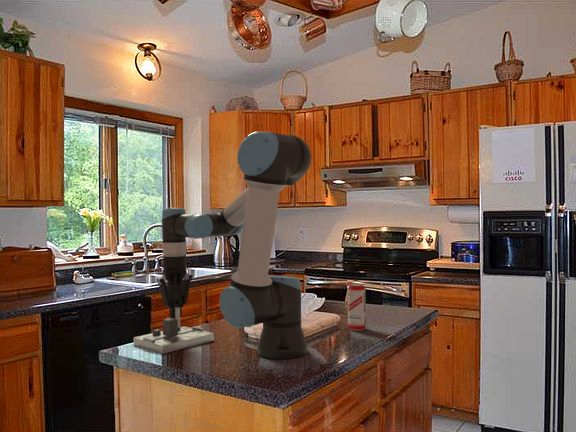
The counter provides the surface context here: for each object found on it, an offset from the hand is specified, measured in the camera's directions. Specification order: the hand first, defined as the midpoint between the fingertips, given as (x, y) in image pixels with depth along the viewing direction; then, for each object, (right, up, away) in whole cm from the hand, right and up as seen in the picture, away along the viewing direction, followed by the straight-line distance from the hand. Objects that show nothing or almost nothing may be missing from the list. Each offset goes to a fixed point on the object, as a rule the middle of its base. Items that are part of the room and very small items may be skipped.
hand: (175, 327), depth 171 cm
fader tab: (-1, -2, -2) cm, 3 cm away
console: (0, -5, -1) cm, 5 cm away
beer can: (+61, -4, +14) cm, 63 cm away
